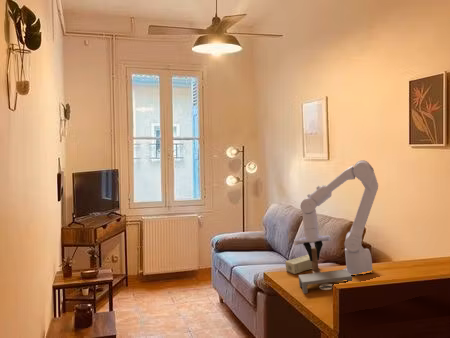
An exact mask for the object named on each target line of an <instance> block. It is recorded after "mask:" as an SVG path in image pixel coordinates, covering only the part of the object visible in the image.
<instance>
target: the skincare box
mask: <svg viewBox="0 0 450 338" xmlns="http://www.w3.org/2000/svg"><path fill="white" fill-rule="evenodd" d="M284 264H285V271H286V272H288V273H290V274H294V275H296V274H299V273H302V272H306V271H308V270H312V262H311V261H310V258H309V255H308V254H306V255H301V256H299V257H296V258H292V259H288V260H286V261H285V263H284Z"/></svg>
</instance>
